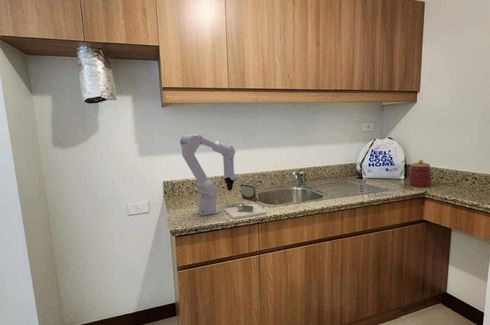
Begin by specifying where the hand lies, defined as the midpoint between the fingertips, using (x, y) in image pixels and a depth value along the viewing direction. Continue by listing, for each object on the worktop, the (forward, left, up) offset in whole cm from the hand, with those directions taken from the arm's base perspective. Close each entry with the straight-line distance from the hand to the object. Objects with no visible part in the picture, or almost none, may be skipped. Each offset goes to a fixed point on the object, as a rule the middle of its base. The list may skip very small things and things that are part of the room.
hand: (229, 190), depth 157 cm
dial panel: (+3, -15, -9) cm, 18 cm away
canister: (+133, -16, -10) cm, 134 cm away
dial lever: (+3, -17, -8) cm, 19 cm away
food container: (+16, +8, -10) cm, 20 cm away
